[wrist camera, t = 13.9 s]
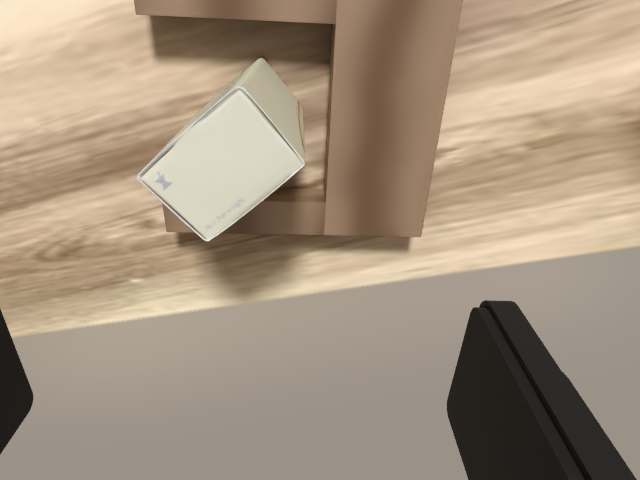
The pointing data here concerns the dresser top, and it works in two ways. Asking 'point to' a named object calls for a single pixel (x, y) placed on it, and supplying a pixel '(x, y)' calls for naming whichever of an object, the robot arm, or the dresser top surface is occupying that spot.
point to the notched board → (357, 112)
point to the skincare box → (230, 153)
